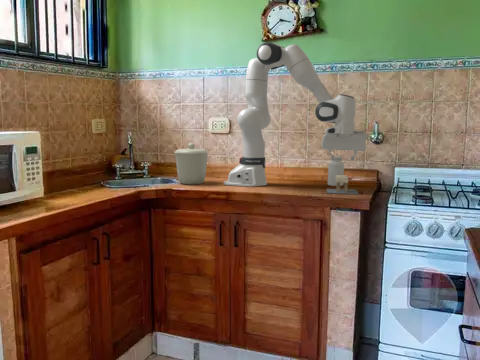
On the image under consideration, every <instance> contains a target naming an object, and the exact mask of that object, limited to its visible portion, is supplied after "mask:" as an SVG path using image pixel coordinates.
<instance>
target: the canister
mask: <svg viewBox="0 0 480 360" xmlns="http://www.w3.org/2000/svg"><path fill="white" fill-rule="evenodd" d="M173 154H174V156H175V157H174V158H175V163H176V172H177V173H176V174H177V180H178V182H179V183H180V184H183V185H191V186H192V185H194V186H195V185H201V184H203V183H204V182H205V180H206V172H207V167H208V166H207V165H208V155H209V154H210V151H208V150H207V149H205V148H204V149H203V148H197V147H196V144H195V143H193V142H189V143H188V144H187V148H178V149H176V150H175V151H173Z"/></svg>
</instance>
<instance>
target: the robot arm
mask: <svg viewBox="0 0 480 360" xmlns="http://www.w3.org/2000/svg"><path fill="white" fill-rule="evenodd" d="M282 67H286V69H287V71H288V73H289V74H290V76H291V77H292V78H293V80H294V81H295V82H296V83H297V84H298V85H300V86H302V87H304V88H306V89H307V90H309V91H310V92H311V93H312V94H313V96H314V98H315V99H316V100H317V102H318V104H317V106H316V107H315V111H314V112H315V113H314V115H315V117H316V119H317V120H318V121H320V122H322V123H329V124H334V126H330V127H326V128H325V130H324V135H323V136H322V139H321V145H320V146H321V147H320V148H321V149H323V150H328V153H329V156H330V160H332V159H334V156H335V155H332V152H333V151H332V150H334V151H352V152H353V153H354V154H353V155H352V156H350V161H355V157H356V156H357V155H358V152H364V151H365V150H366V149H367V148H366V147H367V146H366V145H367V144H366V142H367V140H368V139H367V138H368V133H367V132H366V131H364V130H355V123H356V122H355V116H356V99H355V97H353V96H352V95H348V94H343V93H341V94H338V95H336V97H334V98H333V97H332V96H331V95H330V93H329V91H328V90H327V89H326V87H325V85H324V83H322V81H321V79H320V77H319V75H318V73H317V70H316V69H315V67H314V66H313V63H312V61H311V60H310V58H309V56H308V55H307V54H306V53H305V52H304V50H303V49H302V48H301V47H300V46H299V45H298V44H295V43H293V44H290V45H288V46H286V47H285V46H282V45H280V44H278V43H274V42H271V41H267V42H262V43H261V44H260V45H259V46H258V47H257V50H256V57H254V58H251V59H250V60H249V61H248V64H247V68H246V74H245V75H246V76H245V85H244V86H245V89H244V90H245V91H244V97H245V99H246V103H247V108H244V109H243V110H240V111H239V113H238V114H237V116H236V117H237V119H236V120H237V124H238V126H239V127H240V132H241V136H242V145H243V147H242V150H243V151H242V153H243V154H242V156H241V157H239V160H238V161H239V162H238V163H239V164H238V165H237V166H236V167H234V168H233V169H231V170H230V172H229V173H228V177H227V180H224V182H223V185H225V186H233V187H235V186H237V187H238V186H239V187H259V186H260V187H261V186H267V185H268V182H267V176H266V163H267V161H266V160H267V159H266V156H265V154H266V153H265V152H266V141H265V139H264V137H263V131H262V130H265V128H267V127H269V126H270V123H271V122H272V118H271V115H270V112H269V103H268V80H269V72H270V70H276V69H281V68H282Z"/></svg>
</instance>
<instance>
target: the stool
mask: <svg viewBox="0 0 480 360" xmlns="http://www.w3.org/2000/svg"><path fill="white" fill-rule="evenodd" d="M336 181H337V185H336V186H335V187H336V188H335V189H336V190H337V192H340V189H341V186H340V183H343V189H344V192H347V189H348V185H349V177H348V175H347V174H346V175H336Z"/></svg>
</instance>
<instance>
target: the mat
mask: <svg viewBox="0 0 480 360" xmlns="http://www.w3.org/2000/svg"><path fill="white" fill-rule="evenodd" d="M326 194H334V195H335V194H336V195H337V194H338V195H339V194H340V195H341V194H342V195H359V192H358V190H357V189H348V188H347V192H344V188H340V192H337V190H336V188H326Z"/></svg>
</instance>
